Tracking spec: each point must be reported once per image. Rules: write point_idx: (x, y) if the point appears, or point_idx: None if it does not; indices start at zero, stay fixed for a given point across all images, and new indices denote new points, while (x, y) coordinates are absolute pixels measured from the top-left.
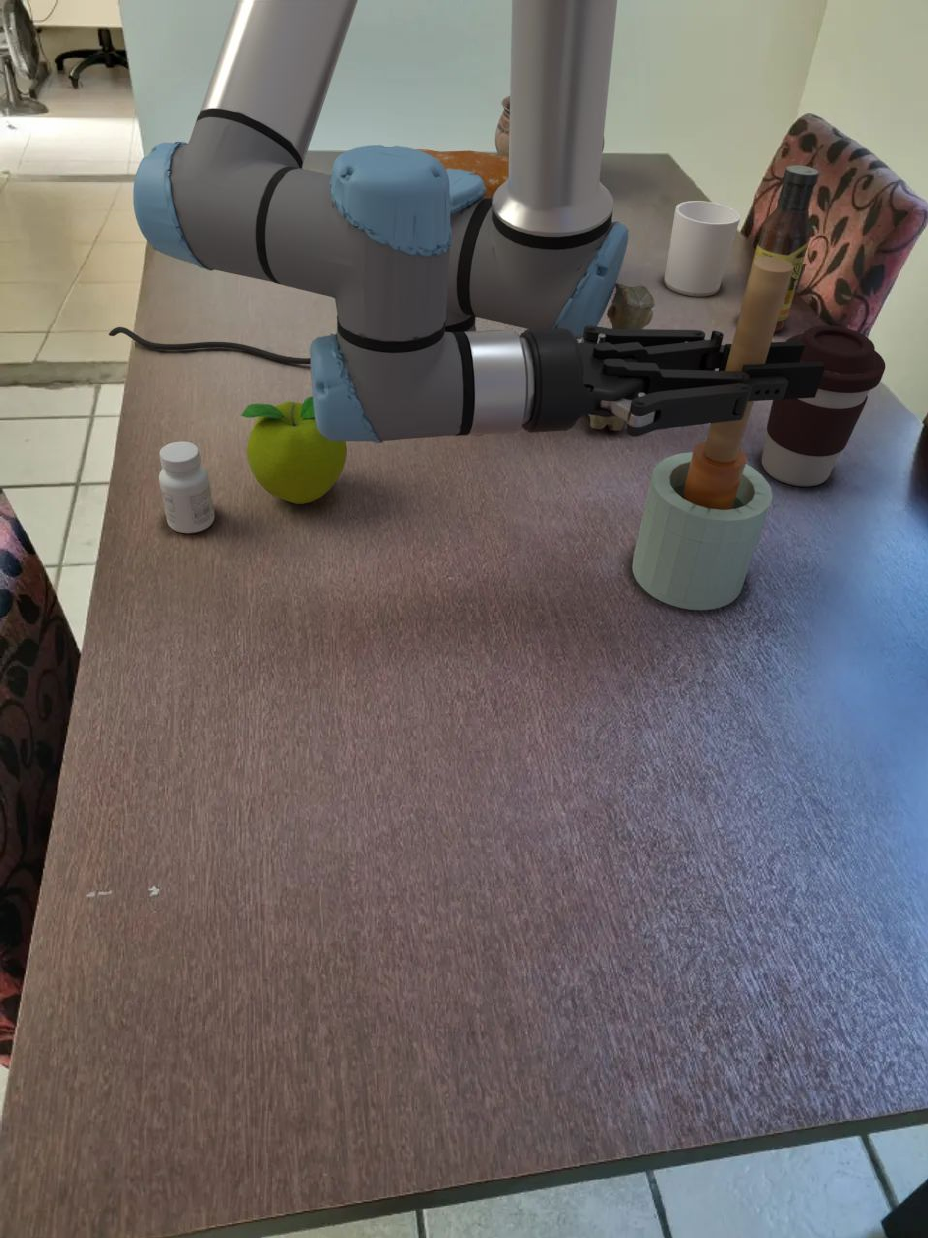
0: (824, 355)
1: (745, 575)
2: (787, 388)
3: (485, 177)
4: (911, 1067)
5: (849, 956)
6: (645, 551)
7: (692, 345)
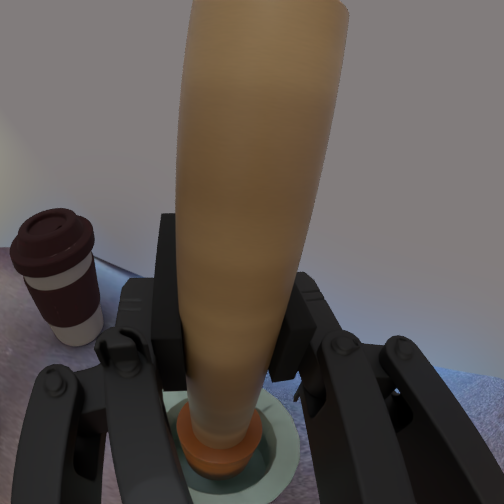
0: (56, 239)
1: None
2: None
3: None
4: (499, 379)
5: (482, 395)
6: None
7: (138, 444)
